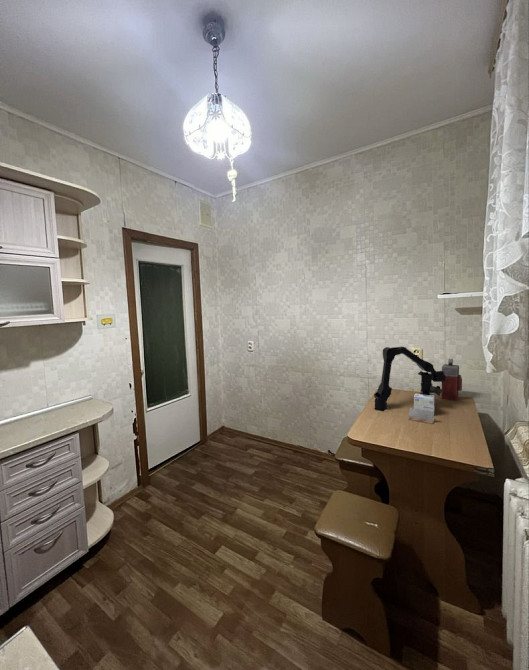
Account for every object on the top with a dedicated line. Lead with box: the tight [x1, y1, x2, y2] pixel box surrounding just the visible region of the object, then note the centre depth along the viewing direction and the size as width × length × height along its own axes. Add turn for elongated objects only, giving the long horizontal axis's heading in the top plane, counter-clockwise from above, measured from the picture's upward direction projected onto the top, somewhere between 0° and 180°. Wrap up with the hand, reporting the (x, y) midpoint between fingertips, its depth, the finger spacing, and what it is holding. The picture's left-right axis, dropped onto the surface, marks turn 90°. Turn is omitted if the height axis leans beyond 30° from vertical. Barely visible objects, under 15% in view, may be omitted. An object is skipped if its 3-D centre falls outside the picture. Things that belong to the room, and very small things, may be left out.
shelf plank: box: [408, 418, 435, 425], centre depth 157 cm, size 12×3×1 cm, turn 55°
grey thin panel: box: [408, 407, 435, 423], centre depth 159 cm, size 12×1×6 cm, turn 55°
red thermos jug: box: [440, 358, 463, 402], centre depth 192 cm, size 9×11×28 cm
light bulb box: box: [413, 393, 436, 412], centre depth 169 cm, size 11×7×11 cm, turn 58°
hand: (425, 406), depth 179 cm, fingers closed
